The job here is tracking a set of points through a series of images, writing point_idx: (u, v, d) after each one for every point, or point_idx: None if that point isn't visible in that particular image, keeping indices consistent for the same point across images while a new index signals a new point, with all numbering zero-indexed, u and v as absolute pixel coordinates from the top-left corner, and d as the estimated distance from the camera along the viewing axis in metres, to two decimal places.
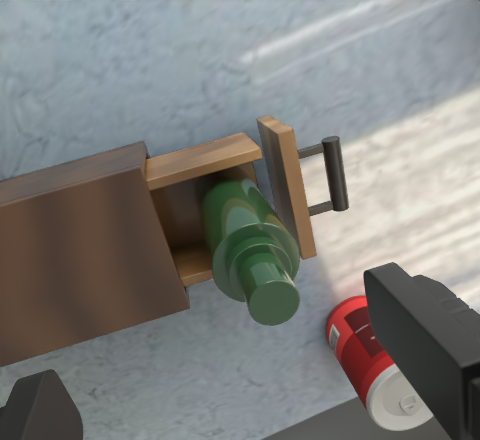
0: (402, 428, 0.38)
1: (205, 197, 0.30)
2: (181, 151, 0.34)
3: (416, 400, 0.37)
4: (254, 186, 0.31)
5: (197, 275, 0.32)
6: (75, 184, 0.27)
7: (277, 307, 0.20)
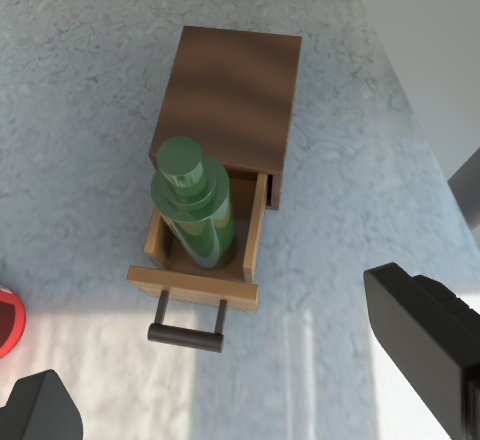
0: None
1: None
2: (261, 227, 0.40)
3: None
4: (219, 253, 0.34)
5: None
6: (288, 129, 0.36)
7: (174, 156, 0.23)
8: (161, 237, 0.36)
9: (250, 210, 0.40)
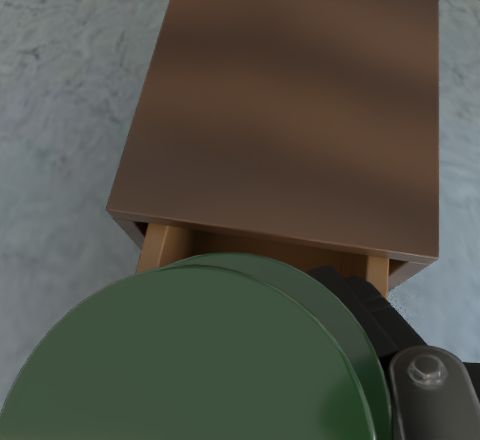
0: None
1: None
2: None
3: None
4: None
5: (155, 259, 0.15)
6: None
7: None
8: None
9: None
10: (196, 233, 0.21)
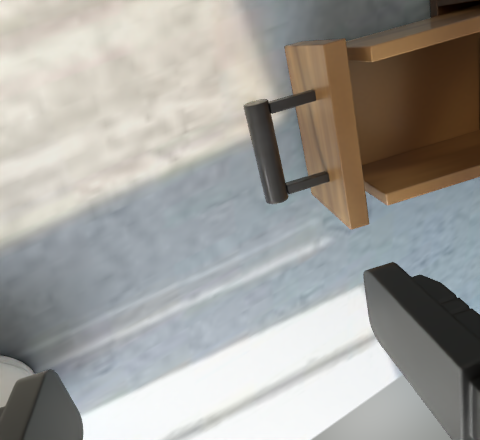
0: None
1: None
2: None
3: None
4: None
5: None
6: None
7: None
8: None
9: (437, 134, 0.29)
10: None
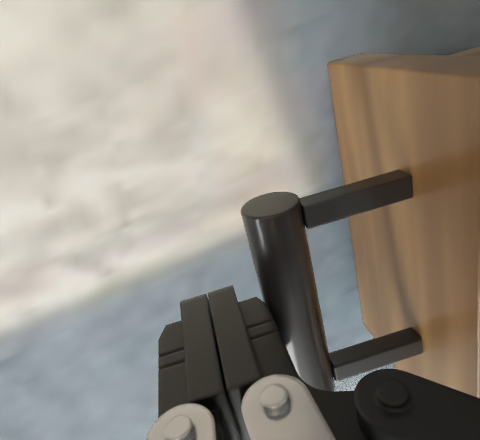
0: None
1: None
2: None
3: None
4: None
5: None
6: None
7: None
8: None
9: None
10: None
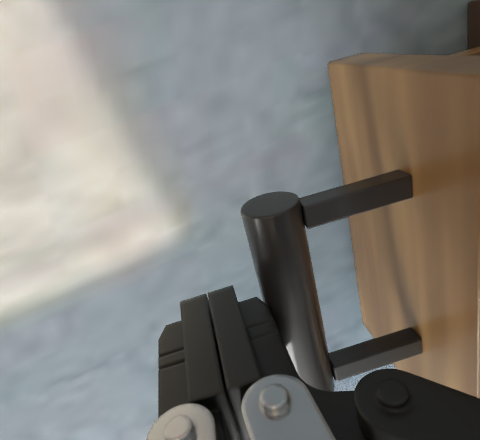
0: None
1: None
2: None
3: None
4: None
5: None
6: None
7: None
8: None
9: None
10: None
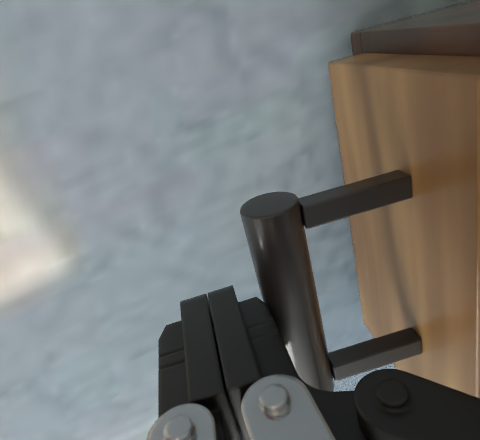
0: None
1: None
2: None
3: None
4: None
5: None
6: None
7: None
8: None
9: None
10: None
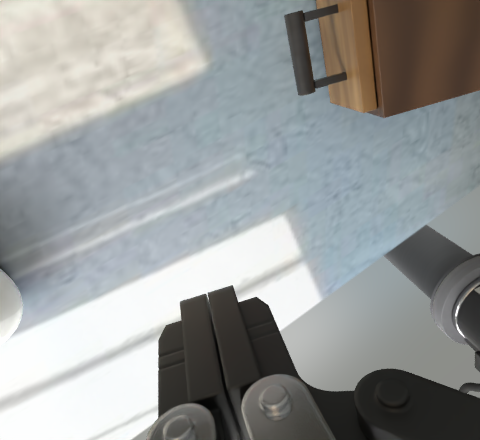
0: None
1: None
2: None
3: None
4: None
5: None
6: (433, 102, 0.32)
7: None
8: None
9: None
10: None
